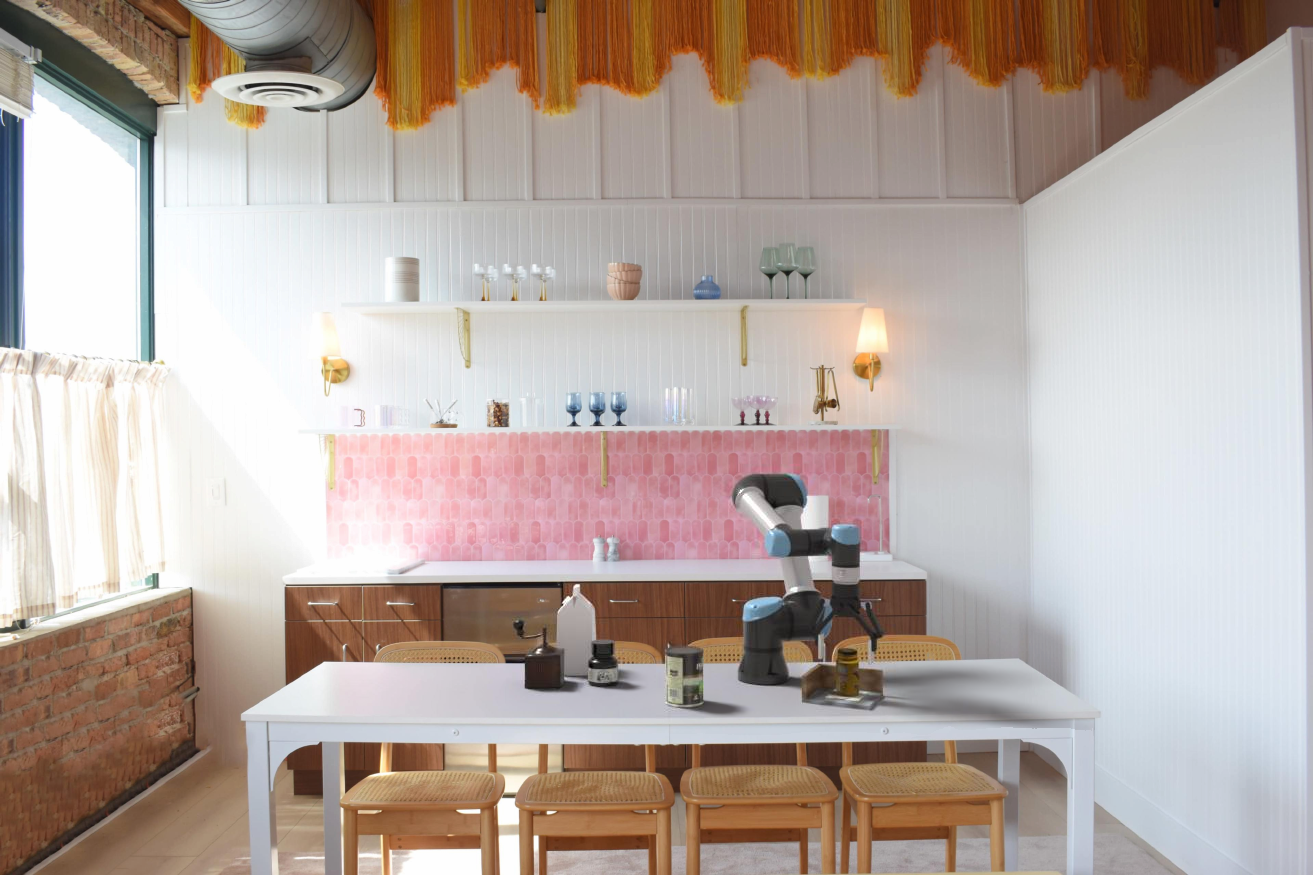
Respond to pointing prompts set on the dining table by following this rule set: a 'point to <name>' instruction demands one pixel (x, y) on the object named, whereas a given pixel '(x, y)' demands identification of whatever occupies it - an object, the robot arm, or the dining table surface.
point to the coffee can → (684, 676)
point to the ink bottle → (603, 664)
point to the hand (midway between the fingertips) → (845, 660)
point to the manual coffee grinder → (542, 662)
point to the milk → (576, 633)
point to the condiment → (846, 674)
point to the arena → (825, 681)
